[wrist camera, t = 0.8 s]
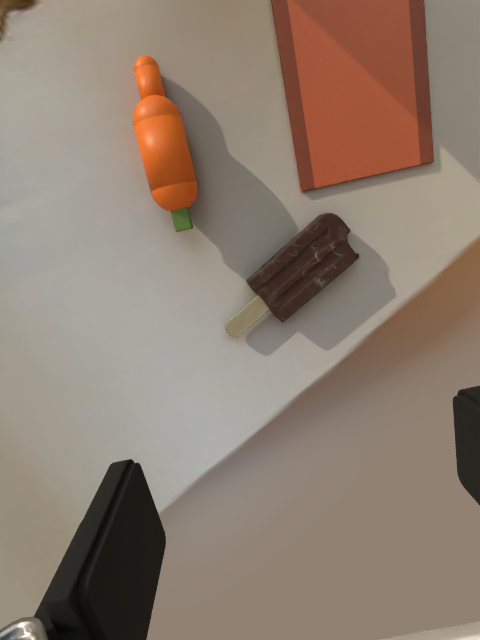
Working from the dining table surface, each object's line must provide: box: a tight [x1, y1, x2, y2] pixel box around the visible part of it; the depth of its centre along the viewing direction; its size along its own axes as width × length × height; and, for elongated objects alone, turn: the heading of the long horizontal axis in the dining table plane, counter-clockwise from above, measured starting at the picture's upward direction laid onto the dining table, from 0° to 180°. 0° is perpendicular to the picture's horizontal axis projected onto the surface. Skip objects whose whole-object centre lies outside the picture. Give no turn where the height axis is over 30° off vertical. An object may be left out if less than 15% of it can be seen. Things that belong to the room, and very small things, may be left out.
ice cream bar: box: [226, 213, 359, 337], centre depth 34 cm, size 5×2×15 cm
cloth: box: [271, 0, 434, 191], centre depth 30 cm, size 15×12×1 cm
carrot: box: [133, 56, 198, 232], centre depth 29 cm, size 14×4×4 cm, turn 12°
